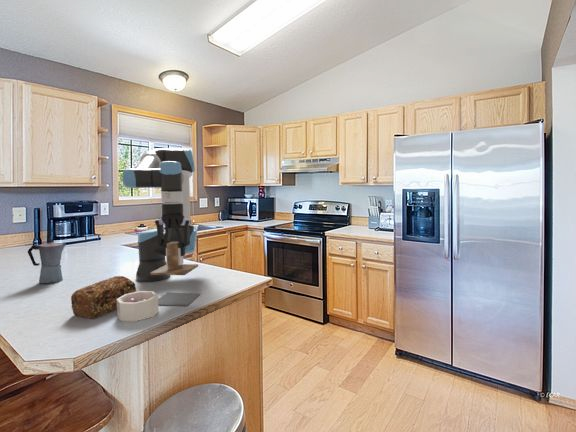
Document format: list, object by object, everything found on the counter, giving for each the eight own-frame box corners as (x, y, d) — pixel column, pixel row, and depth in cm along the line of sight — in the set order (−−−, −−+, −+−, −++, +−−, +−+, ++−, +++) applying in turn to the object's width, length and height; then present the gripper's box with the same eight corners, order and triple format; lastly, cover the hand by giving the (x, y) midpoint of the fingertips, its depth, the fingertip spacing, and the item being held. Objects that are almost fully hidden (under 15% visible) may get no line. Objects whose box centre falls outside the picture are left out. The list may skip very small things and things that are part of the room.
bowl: (110, 320, 104) (109, 302, 104) (132, 306, 116) (131, 290, 116) (145, 321, 103) (144, 303, 102) (163, 307, 115) (162, 291, 114)
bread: (118, 298, 126) (116, 273, 125) (138, 301, 122) (136, 276, 121) (70, 316, 109) (68, 287, 108) (92, 320, 105) (89, 291, 104)
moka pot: (73, 278, 154) (70, 237, 152) (37, 287, 140) (33, 242, 138) (61, 276, 158) (58, 236, 156) (25, 285, 144) (21, 241, 142)
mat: (150, 305, 117) (150, 304, 117) (167, 293, 130) (167, 292, 130) (187, 306, 116) (187, 305, 116) (200, 294, 129) (200, 293, 129)
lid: (150, 274, 116) (148, 245, 115) (167, 266, 129) (165, 239, 128) (184, 275, 115) (183, 245, 114) (198, 266, 128) (197, 239, 127)
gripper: (145, 203, 117) (148, 266, 119) (190, 203, 115) (192, 267, 117) (155, 202, 124) (158, 261, 126) (198, 202, 123) (200, 262, 125)
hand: (175, 264), depth 122 cm, fingers closed on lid, 4 cm apart
